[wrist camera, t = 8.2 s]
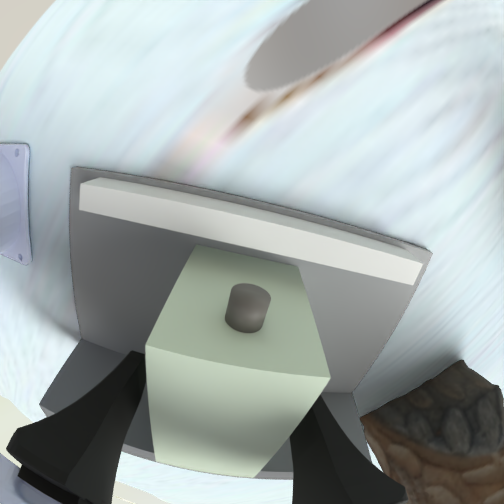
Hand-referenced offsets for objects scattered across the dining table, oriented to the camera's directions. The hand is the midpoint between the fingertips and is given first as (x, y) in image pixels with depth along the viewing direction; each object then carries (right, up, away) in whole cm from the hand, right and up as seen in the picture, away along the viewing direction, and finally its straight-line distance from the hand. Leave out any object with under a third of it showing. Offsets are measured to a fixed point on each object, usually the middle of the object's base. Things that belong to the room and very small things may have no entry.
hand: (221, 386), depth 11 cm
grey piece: (0, +2, +4) cm, 5 cm away
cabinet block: (0, +2, +4) cm, 4 cm away
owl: (+18, -9, +9) cm, 22 cm away
